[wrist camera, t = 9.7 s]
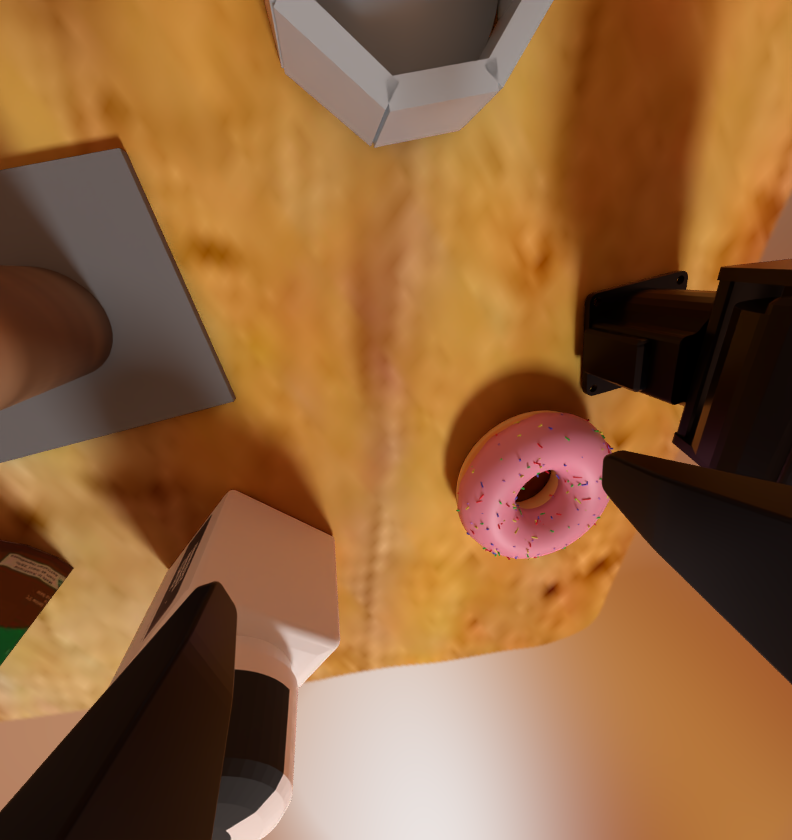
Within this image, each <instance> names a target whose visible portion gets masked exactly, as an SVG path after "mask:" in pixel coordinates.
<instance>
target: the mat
mask: <svg viewBox="0 0 792 840" xmlns="http://www.w3.org/2000/svg"><path fill="white" fill-rule="evenodd" d="M0 265H4V266H32V267H40V268H45V269H49V270H52V271H55V272H58V273H60V274H62V275H65V276H67V277H69V278H70V279H72V280H74V281H76V282H77V283H78V284H80V285H81V286H83V287H84V288H85V289H86V290H87V291H88V292H90V293H91V294H92V295H93V296H94V298H95V299H96V300H97V301H98V302H99V304H100V305H101V306H102V308H103V309H104V311H105V313H106V315H107V317H108V319H109V321H110V325H111V328H112V334H113V343H112V349H111V352H110V355H109V357H108V359H107V360H106V361H105V363H104V364H103V365H102V366H101V367H100V368H98V369H97V370H95V371H94V372H92V373H89V374H87V375H85V376H82V377H80V378H78V379H75V380H73V381H70V382H68V383H66V384H63V385H61V386H58V387H56V388H54V389H51V390H49V391H46V392H44V393H42V394H39V395H37V396H34V397H32V398H29V399H27V400H25V401H22V402H20V403H17V404H15V405H13V406H10V407H8V408H5V409H3V410H1V411H0V463H2V462H6V461H9V460H13V459H17V458H21V457H24V456H28V455H32V454H36V453H40V452H43V451H47V450H51V449H55V448H59V447H62V446H66V445H70V444H74V443H78V442H81V441H85V440H89V439H93V438H97V437H100V436H104V435H108V434H112V433H116V432H119V431H123V430H127V429H131V428H135V427H138V426H142V425H146V424H150V423H154V422H157V421H161V420H165V419H169V418H173V417H176V416H180V415H184V414H188V413H192V412H195V411H199V410H203V409H207V408H211V407H214V406H218V405H222V404H226V403H230V402H233V401H234V400H235V399H236V397H235V395H234V393H233V391H232V388H231V386H230V384H229V382H228V379H227V377H226V375H225V373H224V370H223V368H222V366H221V364H220V361H219V359H218V357H217V355H216V352H215V350H214V348H213V346H212V344H211V341H210V339H209V337H208V335H207V332H206V330H205V328H204V326H203V323H202V321H201V319H200V317H199V314H198V312H197V310H196V308H195V305H194V303H193V301H192V299H191V296H190V294H189V292H188V290H187V287H186V285H185V283H184V281H183V278H182V276H181V274H180V272H179V270H178V267H177V265H176V263H175V261H174V258H173V256H172V254H171V252H170V249H169V247H168V245H167V243H166V240H165V238H164V236H163V234H162V231H161V229H160V227H159V225H158V222H157V220H156V218H155V216H154V213H153V211H152V209H151V207H150V205H149V202H148V200H147V198H146V196H145V193H144V191H143V189H142V187H141V184H140V182H139V180H138V178H137V175H136V173H135V171H134V169H133V166H132V164H131V162H130V160H129V157H128V155H127V153H126V152H125V151H124V150H122V149H120V148H116V149H111V150H106V151H100V152H95V153H90V154H84V155H79V156H74V157H68V158H63V159H58V160H52V161H47V162H42V163H36V164H31V165H26V166H20V167H15V168H10V169H4V170H0Z"/></svg>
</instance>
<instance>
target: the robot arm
mask: <svg viewBox="0 0 792 840" xmlns="http://www.w3.org/2000/svg"><path fill="white" fill-rule="evenodd" d="M677 279H678V281H677ZM687 280H688V274H687V272H685V271H674V272H670V273H666V274H662V275H659V276H655V277H651V278H647V279H643V280H639V281H635V282H632V283H628V284H624V285H620V286H616V287H612V288H608V289H604V290H601V291H597V292H593V293H591V294H589V295H588V296H587V298H586V301H585V320H584V350H583V386H582V389H583V392H584V393H585V394H588V395H590V396H593V395H597V394H600V393H604V392H607V391H611V390H614V389H618V388H621V387H624V388H626V389H629V390H631V391H634V392H641V393H643V394H646V395H649V396H651V397H654V398H657V399H659V400H662V401H664V402H667V403H670V404H672V405H676V404H680V405H683V406H684V410H683V413H682V417H681V420H680V424H679V428H678V431H677V432H675V434H674V437H673V441H672V442H673V444H675V445H676V446H677V447H678V448H679V449H681V450H682V451H683V452H684V453H685V454H687V455H688V456H689V457H690V458H691V459H692V460H694V461H695V462H696V463H697V464H698V465H699V466H695V465H691V464H686V463H681V462H676V461H672V460H667V459H662V458H657V457H653V456H648V455H643V454H638V453H634V452H629V451H617V452H614V453H611V454H608V455H606V456H605V457H604V459H603V467H602V487H603V490H604V491H605V493H606V494H607V495H608V497H609V498H610V499H611V500H612V501H613V503H614V504H615V505H616V506H617V507H618V508H619V510H620V511H621V512H622V513H623V514H624V515H625V517H626V518H627V519H628V520H629V521H630V522H631V524H632V525H633V526H634V527H635V528H636V529H637V531H638V532H639V533H640V534H641V535H642V537H643V538H644V539H645V540H646V541H647V542H648V543H649V544H650V545H651V546H652V548H653V549H654V550H655V551H656V552H657V553H658V554H659V555H660V556H661V557H662V558H663V559H664V560H665V561H666V562H667V563H668V564H669V565H670V566H671V567H673V568H674V569H675V570H676V571H677V572H678V573H679V574H680V575H681V576H682V577H683V578H684V579H685V580H686V581H687V582H688V583H689V584H690V585H691V586H692V587H693V588H694V589H695V590H696V591H697V592H698V593H699V594H700V595H701V596H702V597H703V598H704V599H705V600H706V601H707V602H708V603H709V604H710V605H711V606H712V607H713V608H714V609H715V610H716V611H717V612H718V613H719V614H720V615H721V616H723V618H724V619H726V620H727V621H728V622H729V623H730V624H731V625H732V626H733V627H734V628H735V629H736V630H737V631H738V632H739V633H740V634H741V635H742V636H743V637H744V638H745V639H746V640H747V641H748V642H749V643H750V644H751V645H752V646H753V647H754V648H755V649H756V650H757V651H758V652H759V653H760V654H761V655H762V656H763V657H764V658H765V659H766V660H767V661H768V662H769V663H770V664H771V665H772V666H773V667H774V668H775V669H776V670H777V671H779V672H780V673H781V674H782V675H783V676H784V677H785V678H786V679H787V680H788V681H789V682H790V683H791V684H792V259H784V260H776V261H767V262H758V263H749V264H741V265H732V266H724V267H721V268H720V272H719V275H718V279H717V280H720V282H719V285H718V289H717V291H700V290H686V287H687ZM595 299H596V300H597V301H596V303H595V305H594V300H595ZM591 386H593V387H592V389H591V390H590V388H591ZM700 466H701V467H700ZM236 632H237V610H236V607H235V604H234V603H233V601H232V599H231V598H230V596H229V595H228V593H227V592H226V590H225V588H224V587H223V585H222V584H221V583H220V582H218V581H213V582H210V583H207V584H204V585H201V586H199V587H197V588H196V589H195V590H194V591H193V592H192V593H191V594H190V595H189V596H188V597H187V599H186V600H185V601H184V602H183V603H182V604H181V605H180V607H179V608H178V609H177V610H176V611H175V612H174V613H173V615H172V616H171V617H170V618H169V619H168V620H167V621H166V623H165V624H164V625H163V626H162V627H161V628H160V629H159V631H158V632H157V633H156V634H155V635H154V636H153V637H152V639H151V640H150V641H149V642H148V643H147V644H146V645H145V647H144V648H143V649H142V650H141V651H140V652H139V654H138V655H137V656H136V657H135V658H134V659H133V660H132V662H131V663H130V664H129V665H128V666H127V667H126V668H125V670H124V671H123V672H122V673H121V674H120V675H119V676H118V678H117V679H116V680H115V681H114V682H113V683H112V684H111V686H110V687H109V688H108V689H107V690H106V691H105V692H104V694H103V695H102V696H101V697H100V698H99V699H98V700H97V702H96V703H95V704H94V705H93V706H92V707H91V709H90V710H89V711H88V712H87V713H86V714H85V715H84V717H83V718H82V719H81V720H80V721H79V722H78V723H77V725H76V726H75V727H74V728H73V729H72V730H71V732H70V733H69V734H68V735H67V736H66V737H65V738H64V739H63V741H62V742H61V743H60V744H59V745H58V746H57V748H56V749H55V750H54V751H53V752H52V753H51V754H50V756H49V757H48V758H47V759H46V760H45V761H44V762H43V763H42V765H41V766H40V767H39V768H38V769H37V770H36V772H35V773H34V774H33V775H32V776H31V777H30V778H29V780H28V781H27V782H26V783H25V784H24V785H23V786H22V787H21V789H20V790H19V791H18V792H17V793H16V794H15V795H14V797H13V798H12V799H11V800H10V801H9V802H8V804H7V805H6V806H5V807H4V808H3V809H2V810H1V812H0V840H212V834H213V827H214V820H215V814H216V807H217V801H218V794H219V787H220V781H221V774H222V767H223V761H224V754H225V747H226V741H227V734H228V727H229V721H230V714H231V707H232V699H233V688H234V671H235V651H236Z"/></svg>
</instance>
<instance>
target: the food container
mask: <svg viewBox="0 0 792 840" xmlns="http://www.w3.org/2000/svg"><path fill="white" fill-rule="evenodd" d="M73 569H74V568H73V567H71V566H70V565H68V564H66V563H65V562H63V561H62V560H60V559H59V558H57V557H55V556H53V555H50V554H48V553H45V552H43V551H40V550H38V549H35V548H33V547H30V546H28V545H24V544H18V543H13V542H8V541H2V540H0V666H1V664H2V663H3V662H4V660H5V659H6V658H7V656H8V655H9V654H10V652H11V651H12V650H13V648H14V647H15V646H16V644H17V643H18V642H19V640H20V639H21V638H22V636H23V635H24V634H25V632H26V631H27V630H28V628H29V627H30V626H31V624H32V623H33V622H34V620H35V619H36V618H37V616H38V615H39V614H40V612H41V611H42V610H43V608H44V607H45V606H46V604H47V603H48V602H49V600H50V599H51V598H52V596H53V595H54V594H55V592H56V591H57V590H58V588H59V587H60V586H61V584H62V583H63V582H64V581H65V579H66V578H67V577H68V575H69V574H70V573H71V571H72V570H73Z"/></svg>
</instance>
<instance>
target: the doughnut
mask: <svg viewBox="0 0 792 840" xmlns="http://www.w3.org/2000/svg"><path fill="white" fill-rule="evenodd" d="M588 421H589V419H588V420H585V419H583V418H581V417H578V416H576V415H573V414H570V413H562V412H558V411H549V410H542V411H532V412H527V413H523V414H520V415H517V416H514V417H512V418H509V419H507V420H505V421H503V422H502V423H500V424H498V425H497V426H495V427H494V428H492V429H491V430H490V431H488V432H487V433H486V434H485V435H484V436H483V437H482V438H481V439H480V440H479V441H478V442H477V443H476V444H475V445H474V447H473V448H472V449H471V451H470V452H469V454H468V455H467V457H466V459H465V461H464V463H463V465H462V467H461V470H460V473H459V476H458V481H457V487H456V500H457V506H458V510H456V511H458V513H459V517H460V519H461V522H462V524H463V526H464V528H465V530H466V531H467V534H468V535H470V536H471V537H472V538H473V539H475V540H476V541H477V542H478V543H479V544H480V545H482V546H483V547H484V548H483V549H485V551H489V552H492V553H493V554H495V556H496V554H498V555H499V556H500V555H503V556H506V557H507V558H508V559H509V560H510V558H509V557H511V558H515V559H516V558H528V560H530V559H532V558H537V557H539V556H543V555H546V554H550V553H553V552H555V551H558V550H560V549H563V548H564V549H565V547H566V546H568V545H569V544H571V543H572V542H574V541H575V540H577V539H580V537H581V536H582V535H583V534H584V533H585V532H587V531H588V530H589V529H590V528H591V527H592V526H593V524H594V525H596V524H595V522H596V521H597V520H598V518H600V515H601V514H602V512H603V511H604V509H605V507H606V505H607V503H608V501H609V499H610V498H609V497H608V495H607V494H606V493H605V491H604V490H603V487H602V467H603V459H604V457H605V456H606V455H608V454H611V453H612V452H611V450H610V449H613V448H610V447H611V446H610V445H609V444H608V443H607V442H606V441H605V440H604V439H605V437H604V435H601V434H600V433H603V432H599V430H597V429H596V428H595V427H594V426H593V425H592V424H591V423H589V422H588ZM547 470H552V471H551V476H550V478H549V480H548V482H547V484H546V485H545V487H544V488H543V489H542V490H541V491H540V492H539V493H537V494H536V495H535V496H533V497H532V498H530V499H527V500H525V501H521V502H515V500H516V499H517V498H518V497H516V496H517V494H518V492H519V491H520V489H525V488H523V486H524V484H525V483H526V482H527V481H529V480H530V479H531V478H532V477H534V476H535V475H537V477H539V476H538V474H539V473H541V472H544V471H545V472H547V473H548V474H549V472H548V471H547Z"/></svg>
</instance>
